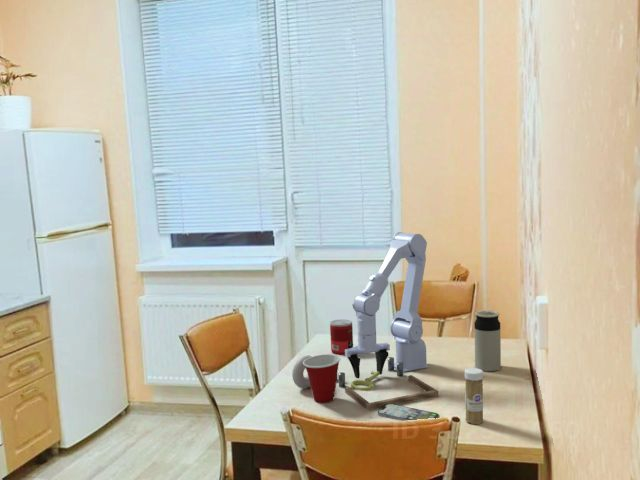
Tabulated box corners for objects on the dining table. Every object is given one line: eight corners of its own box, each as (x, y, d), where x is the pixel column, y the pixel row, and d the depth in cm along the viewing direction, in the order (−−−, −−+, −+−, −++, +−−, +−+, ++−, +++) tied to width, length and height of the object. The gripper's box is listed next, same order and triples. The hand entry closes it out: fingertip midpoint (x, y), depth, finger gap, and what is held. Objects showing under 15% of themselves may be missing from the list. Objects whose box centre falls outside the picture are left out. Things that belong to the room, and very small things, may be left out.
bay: (411, 379, 188) (411, 375, 188) (438, 396, 174) (438, 391, 174) (345, 392, 180) (344, 387, 180) (367, 410, 166) (367, 405, 166)
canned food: (353, 354, 216) (352, 324, 215) (331, 355, 216) (329, 325, 215) (352, 348, 223) (351, 318, 222) (331, 349, 224) (329, 319, 222)
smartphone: (429, 424, 155) (376, 412, 162) (429, 428, 155) (376, 416, 162) (439, 413, 161) (387, 402, 169) (439, 417, 161) (388, 406, 169)
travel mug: (491, 373, 190) (490, 317, 188) (470, 368, 196) (469, 313, 194) (505, 367, 195) (505, 312, 193) (484, 362, 201) (483, 309, 199)
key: (380, 377, 192) (380, 370, 192) (371, 391, 180) (371, 384, 180) (358, 375, 194) (358, 369, 194) (348, 390, 183) (347, 383, 182)
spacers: (392, 368, 199) (392, 356, 199) (404, 376, 192) (404, 363, 191) (330, 379, 191) (329, 367, 191) (340, 387, 184) (339, 375, 183)
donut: (298, 393, 180) (296, 361, 179) (290, 391, 183) (288, 358, 182) (322, 384, 187) (320, 352, 186) (314, 382, 190) (313, 350, 189)
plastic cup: (305, 392, 181) (303, 353, 180) (341, 391, 181) (340, 352, 179) (303, 407, 170) (301, 365, 169) (342, 406, 170) (340, 364, 168)
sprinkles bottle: (472, 426, 153) (472, 374, 152) (461, 419, 157) (460, 369, 156) (487, 422, 155) (486, 371, 153) (476, 416, 159) (475, 366, 158)
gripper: (382, 327, 195) (383, 368, 197) (340, 333, 190) (342, 375, 192) (392, 332, 189) (393, 374, 190) (349, 338, 184) (351, 382, 185)
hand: (368, 375), depth 191 cm, fingers open, 7 cm apart
